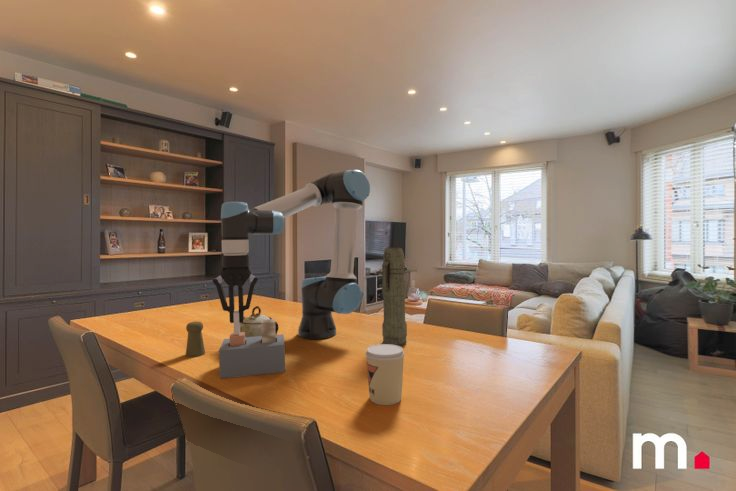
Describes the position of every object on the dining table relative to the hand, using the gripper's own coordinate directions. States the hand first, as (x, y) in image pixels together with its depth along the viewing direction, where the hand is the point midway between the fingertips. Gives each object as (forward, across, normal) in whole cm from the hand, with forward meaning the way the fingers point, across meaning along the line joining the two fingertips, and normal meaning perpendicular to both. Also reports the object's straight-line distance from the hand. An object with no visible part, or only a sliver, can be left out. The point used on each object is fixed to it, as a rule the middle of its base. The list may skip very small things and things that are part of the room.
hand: (237, 333), depth 112 cm
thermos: (+11, -54, -13) cm, 56 cm away
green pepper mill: (+11, +15, -20) cm, 28 cm away
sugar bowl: (+11, -5, -21) cm, 24 cm away
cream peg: (+5, -9, 0) cm, 10 cm away
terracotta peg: (+8, 0, 0) cm, 8 cm away
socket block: (+11, -5, 0) cm, 12 cm away
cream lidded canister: (+11, -37, +31) cm, 49 cm away
